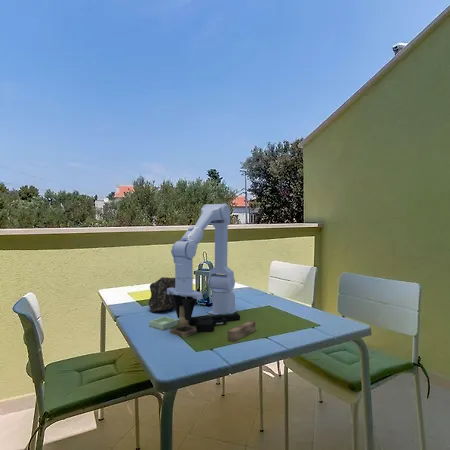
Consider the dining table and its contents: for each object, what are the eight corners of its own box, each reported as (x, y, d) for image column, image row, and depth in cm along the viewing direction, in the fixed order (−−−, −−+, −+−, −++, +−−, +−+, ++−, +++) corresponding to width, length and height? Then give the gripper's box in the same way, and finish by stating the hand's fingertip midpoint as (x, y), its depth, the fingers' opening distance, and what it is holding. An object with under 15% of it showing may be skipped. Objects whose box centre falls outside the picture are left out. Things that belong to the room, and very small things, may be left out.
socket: (184, 328, 109) (184, 324, 109) (198, 331, 105) (198, 328, 105) (169, 333, 104) (169, 329, 104) (184, 337, 100) (184, 333, 100)
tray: (164, 321, 116) (164, 316, 116) (177, 325, 112) (177, 319, 112) (149, 326, 110) (149, 321, 110) (162, 330, 106) (162, 324, 106)
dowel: (184, 322, 106) (184, 304, 106) (190, 324, 104) (190, 305, 104) (177, 324, 104) (177, 306, 104) (183, 326, 102) (183, 307, 102)
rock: (165, 307, 141) (190, 306, 133) (143, 315, 131) (169, 314, 122) (161, 276, 143) (185, 272, 134) (138, 280, 132) (164, 277, 124)
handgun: (250, 327, 110) (236, 318, 121) (250, 319, 110) (236, 310, 121) (197, 334, 102) (187, 324, 113) (197, 325, 102) (187, 315, 113)
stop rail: (250, 329, 107) (250, 320, 107) (255, 330, 106) (255, 321, 106) (227, 340, 97) (227, 331, 97) (232, 342, 96) (232, 332, 96)
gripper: (159, 276, 105) (160, 317, 106) (191, 281, 97) (192, 325, 97) (175, 274, 111) (175, 312, 111) (206, 278, 102) (207, 319, 103)
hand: (184, 318), depth 104 cm, fingers closed on dowel, 3 cm apart
